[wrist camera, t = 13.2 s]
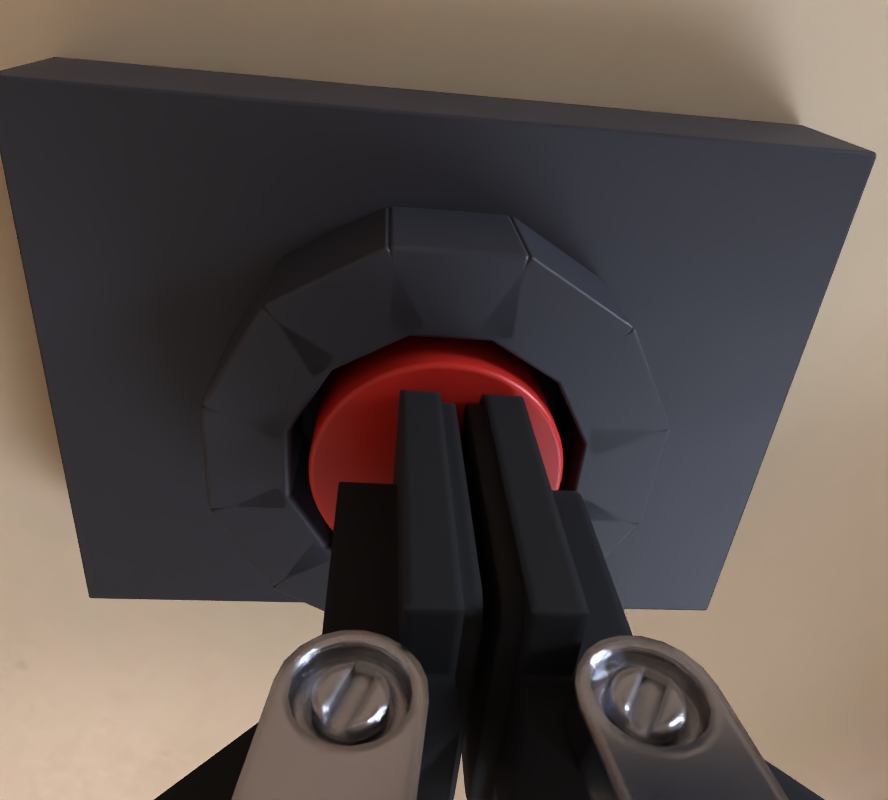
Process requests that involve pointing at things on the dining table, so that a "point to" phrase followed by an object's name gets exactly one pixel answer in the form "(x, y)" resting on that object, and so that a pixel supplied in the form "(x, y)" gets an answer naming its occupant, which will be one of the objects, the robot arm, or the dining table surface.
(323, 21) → the dining table surface
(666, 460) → the control block
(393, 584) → the robot arm
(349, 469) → the button
